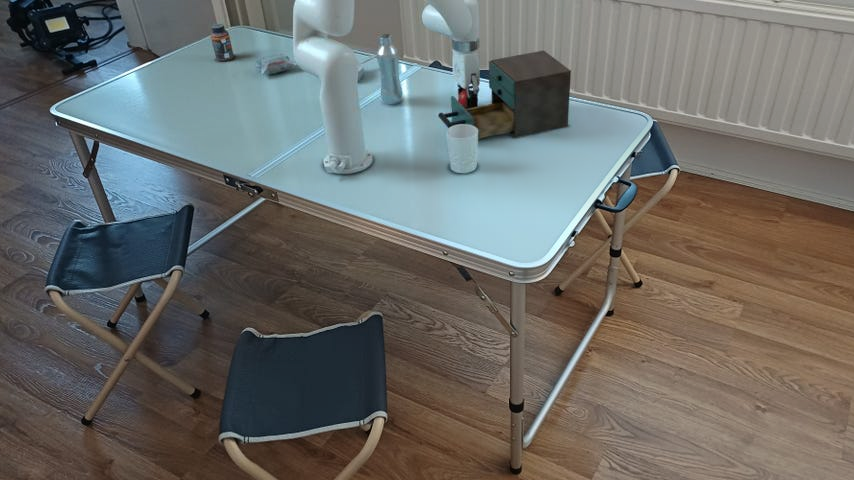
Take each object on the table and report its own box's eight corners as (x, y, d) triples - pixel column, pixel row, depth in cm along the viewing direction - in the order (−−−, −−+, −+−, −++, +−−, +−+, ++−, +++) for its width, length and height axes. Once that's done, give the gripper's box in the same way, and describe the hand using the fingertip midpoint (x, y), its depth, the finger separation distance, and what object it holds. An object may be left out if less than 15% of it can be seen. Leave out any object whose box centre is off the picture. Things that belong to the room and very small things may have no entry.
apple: (475, 114, 208) (475, 91, 204) (456, 112, 209) (455, 90, 205) (480, 105, 213) (479, 83, 208) (460, 104, 214) (460, 82, 210)
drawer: (453, 149, 191) (452, 122, 187) (434, 125, 203) (432, 99, 198) (524, 133, 197) (525, 107, 192) (502, 111, 208) (502, 86, 204)
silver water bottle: (404, 97, 219) (399, 31, 207) (401, 107, 214) (395, 40, 201) (383, 97, 219) (376, 31, 207) (379, 106, 214) (372, 40, 202)
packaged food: (298, 71, 237) (295, 57, 234) (262, 80, 233) (259, 65, 230) (289, 63, 243) (286, 49, 240) (255, 71, 239) (251, 56, 236)
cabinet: (509, 138, 196) (510, 82, 186) (486, 115, 207) (485, 61, 198) (567, 126, 200) (571, 70, 191) (541, 103, 212) (543, 50, 202)
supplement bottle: (233, 61, 247) (225, 28, 240) (215, 62, 246) (207, 29, 239) (235, 54, 251) (227, 21, 244) (217, 56, 251) (209, 23, 244)
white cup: (461, 156, 189) (460, 121, 183) (485, 165, 185) (484, 129, 179) (441, 168, 184) (439, 132, 178) (465, 178, 180) (464, 141, 174)
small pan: (324, 78, 232) (322, 67, 230) (367, 62, 242) (365, 50, 240) (345, 87, 226) (343, 76, 224) (388, 70, 236) (387, 58, 234)
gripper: (442, 36, 205) (445, 96, 216) (464, 57, 192) (466, 119, 203) (466, 31, 207) (469, 91, 218) (490, 52, 194) (491, 114, 205)
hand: (467, 104), depth 210 cm, fingers closed on apple, 5 cm apart
